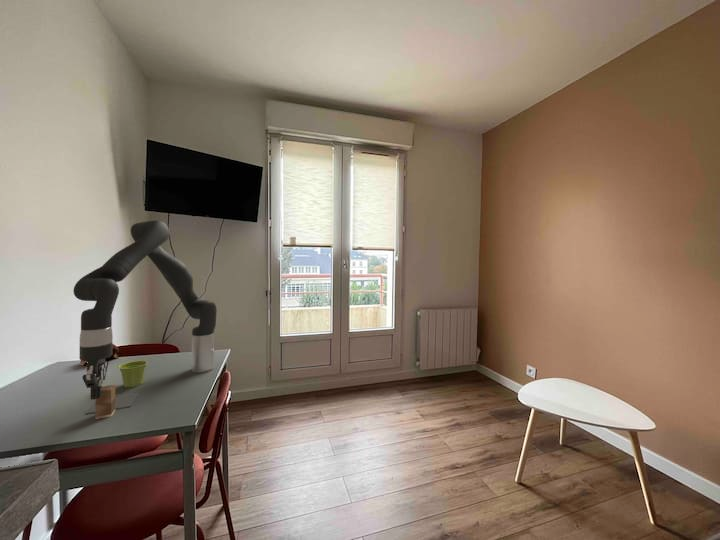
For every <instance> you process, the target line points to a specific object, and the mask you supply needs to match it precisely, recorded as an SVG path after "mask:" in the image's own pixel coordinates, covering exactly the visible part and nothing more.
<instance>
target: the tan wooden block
mask: <svg viewBox="0 0 720 540" xmlns="http://www.w3.org/2000/svg"><path fill="white" fill-rule="evenodd" d="M115 396H116V384H113V385H111V384H110V385H104V386H103V385H102V395H101V397H100V398H99V399H95V402H96V413H95V419H96V420H99V419H104V418H110V417H112V416H113V415H114V413H115V412H116V409H115Z"/></svg>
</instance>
